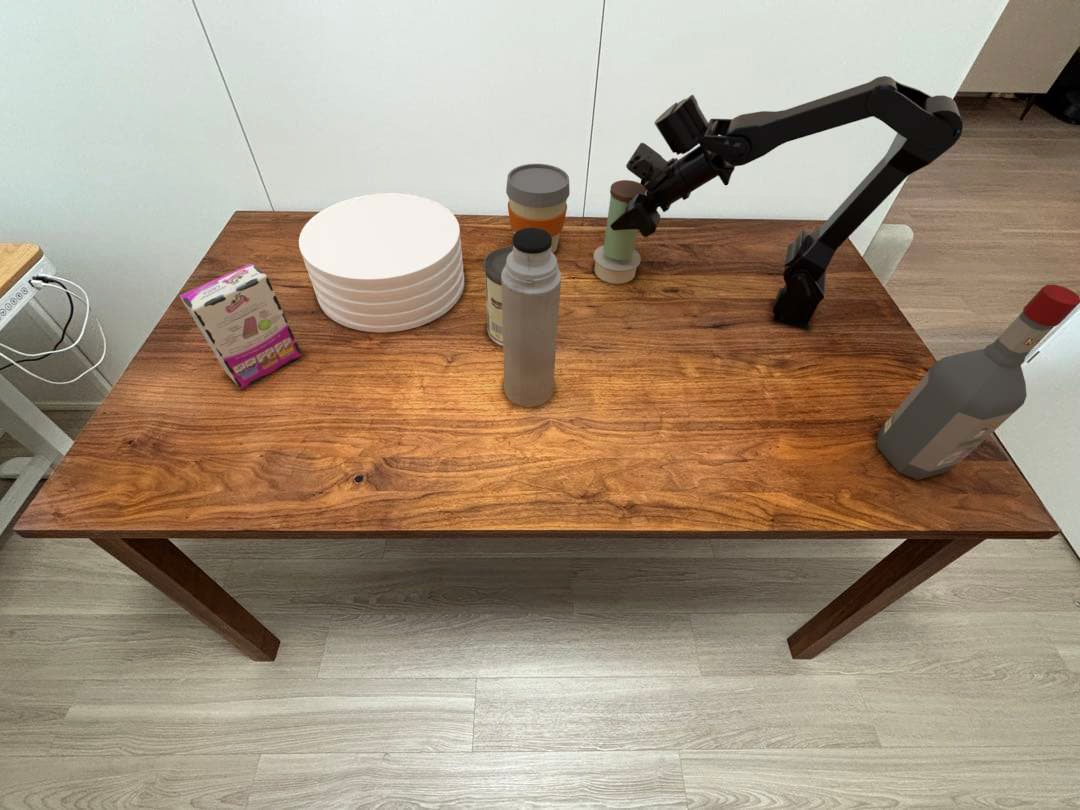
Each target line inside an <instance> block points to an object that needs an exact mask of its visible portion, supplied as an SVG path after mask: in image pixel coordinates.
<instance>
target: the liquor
mask: <svg viewBox="0 0 1080 810" xmlns="http://www.w3.org/2000/svg"><path fill="white" fill-rule="evenodd" d="M1079 305H1080V296H1079V295H1078V294H1077V293H1076V292H1075V291H1073V290H1072V289H1069V288H1068V287H1065V286H1062V285H1058V284H1046V285H1044V286H1042V287H1041V289H1040V290H1038V292H1037V293H1036V294H1035V295H1034V296H1033V297H1032V298H1031V299H1030V301H1028V303H1027V304H1026V305H1025V306H1024V307H1023V308H1022V312H1021V313H1020V314H1019V315H1018V316H1017V317H1016V318H1015V319H1014V320H1013V321H1012V323H1010V324H1009V326H1008V327H1007V328H1006V329H1005V330H1004V331H1003V332H1002V333H1001V334H1000V335H999V336H998V337H997V338H996V339H995V340H994V341H993V342H992V343H990V344H988V345H986V347H985V348H981V349H976V350H975V349H974V350H971V351H966V352H960V353H957V354H953V355H949V356H944V357H942V358H940V359H938V360H937V361H935V362H934V363H933V364H932V366H931V367H930V368H929V369H928V370H927V372H926V373H925V374H924V375H923V377H922V378H921V379H920V380H919V381H918V383H916V385H915V386H914V388H913V389H912V390H911V391H910V393H908V395H907V396H906V398H904V400H903V401H902V402H901V403H900V404H899V406H898V407H897V408H896V410H895V411H894V412H893V413H892V414H891V416H889V418H888V419H887V420H886V421H885V423H884V424H883V425H882V426H881V427H880V429H879V430H878V432H877V439H876V448H877V450H879V452H880V453H881V454H882V455H883V457H885V459H886V460H887V461H888V462H889V463H890V464H891V466H892V468H894V469H895V470H896V471H897V472H898V474H901V475H903V476H906V477H909V478H912V479H914V480H916V481H918V480H923V479H926V478H930V477H934V476H937V475H942V474H944V473H949V472H951V471H952V470H954V469H955V468H956V467H957V466H958V465H959V464H960V463H961V462H962V461H964V460H965V459H966V458H967V457H968V456H969V455H971V453H972V452H973V451H975V450H976V448H978V446H980V445H981V444H982V443H983V442H984V441H985V440H986V439H987V438H988V437H990V435H992V434H993V433H994V432H995V431H996V430H997V429H998V428H999V427H1000V426H1001V425H1003V423H1005V422H1006V421H1007V420H1008V419H1009V418H1010V417H1011V416H1013V415H1014V414H1015V413H1016V412H1017V411H1018V410H1019V409H1020V408H1021V407H1023V405H1024V404H1025V401H1026V399H1027V396H1028V395H1027V385H1026V379H1025V376H1024V371H1023V369H1022V364H1023V363H1025V360H1026V357H1027V356H1028V355H1029V354H1030V353H1031V352H1032V350H1033V349H1035V347H1037V345H1039V343H1040V342H1041V341H1042V340H1043V339H1044V338H1045V337H1046V336H1047V335H1048V334H1049V333H1050V332H1051V331H1052V330H1053V329H1054V328H1055V327H1057V326H1058V325H1060V324H1061V323H1062V322H1063V321H1065V319H1066V318H1067V317H1068V316H1069V315H1070V314H1071V313H1072V312H1073V311H1074V310H1075V309H1076V308H1077V307H1078V306H1079Z"/></svg>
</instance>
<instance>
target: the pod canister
mask: <svg viewBox="0 0 1080 810" xmlns="http://www.w3.org/2000/svg"><path fill="white" fill-rule="evenodd" d="M640 183H641V182H639V181H634V180H630V179H622V180H617V181H615V182H613V183H612V184H611V185H610V190H609V194H610V197H609V205H608V213H607V218H606V219H607V221H606V226H605V234H604V241H603V245H604V248H603V251H604V253H605V255H606V256H608V257H609V258H612V259H616V260H625V259H629V258H630V257H632V255H633V253H634V250H635V246H636V243H637V242H636V241H637V236H638V231H639V230H636V229H631V230H612V228H611V227H610V225H611V224H612V223H613V222H614V221H615V220H616V219H617V218H618V217H619V216H621V215H622V214H623V213H624V212H625V211H626V209H625V208H626V206H627V203H628V201H629V200H630V198H631V197H632V198H633V197H635V196H636V195H638V194H643V195H645V192H646V188H645V187H644V186H643V185H642V184H640Z"/></svg>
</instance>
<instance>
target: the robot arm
mask: <svg viewBox="0 0 1080 810" xmlns="http://www.w3.org/2000/svg"><path fill="white" fill-rule="evenodd" d="M873 117H874V119H875V118H876V119H877V120H879V121H881V122H883V123H884V124H885V125H886V126H888V127H889V128H890V129H892V130H893V131H894V132H895V133H896V135H895V137H894V139H893V140H892V143H891V144H890V146H889V148H888V150H887V152H886V153H885V155H884V156H883V158H882V159H880V161H879V162H878V163H877V164H876V165H875V166H874V168H872V169H871V171H870V172H869V173H868V174H867V175H866V176H865V177H864V178H863V180H862V181H861V182H860V183H859V184H858V185H857V186H856V188H854V189H853V191H852V192H851V193H850V194H849V195H848V196H847V197H846V198H845V199H844V200H843V201H842V202H841V204H840V205H839V206H838V207H837V208H836V209H835V210H834V212H833V213H832V214H831V215H830V216H829V217H828V218H827V220H826V221H825V222H824V223H823V224H822V225H821V226H820V227H819V228H818V229H817V230H815V231H813V232H810V233H808V232H806V230H801V231H800V233H799V234H798V236H797V237H796V239H795V240H794V241H793V242H792V243H790V244H788V245H787V249H786V254H785V261H784V268H783V274H782V275H783V276H782V278H783V281H784V282H785V284H784V286H783V287H780V288H779V289H778V291H777V294H776V296H775V298H774V300H773V301H772V307H771V312H772V314H773V317H772V321H773V322H774V323H777V324H781V325H786V326H790V327H791V326H792V327H796V328H800V329H805V330H809V329H810V327H811V320H812V317H813V316H814V313H815V311H816V310H817V308H818V306H819V305H820V303H821V302H822V301H823V300H824V299H825V295H826V294H825V291H826V279H827V269H828V267H829V265H830V263H831V261H832V259H833V257H834V256H835V254H836V252H837V250H838V249H839V248H840V247H841V245H843V244H844V243H845V242H846V240H847V239H848V238H850V237H851V235H853V233H854V232H855V231H856V230H857V229H858V228H859V227H860V226H861V225H862V224H863V223H864V222H865V221H866V220H867V219H868V218H869V217H870V215H872V213H874V212H875V211H876V209H878V208H879V207H880V205H881V204H882V203H884V201H885V200H886V199H887V198H888V197H889V196H890V195H891V194H892V193H893V192H894V191H895V190H896V189H897V188H898V187H899V186H900V185H901V184H902V183H903V182H904V181H905V180H906V178H908V177H909V176H910V175H912V174H914V173H916V172H918V171H920V170H921V169H924V168H926V167H927V166H929V165H931V164H932V163H933V162H935V161H936V160H937V159H939V157H942V155H944V154H945V153H946V152H947V151H949V150H950V149H951V148H953V146H955V145H956V143H957V142H958V141H959V140H960V138H961V136H962V134H963V128H964V127H963V124H964V122H963V120H962V117H961V114H960V111H959V108H958V105H957V103H956V101H955V100H954V99H953V98H952V97H951V96H948V95H934V96H932V95H930V94H928V93H926V92H924V91H922V90H920V89H918V88H915V87H912V86H909V85H907V84H903V83H900V82H898V81H897V80H895V79H894V78H892V77H891V76H887V75H883V76H878V77H876V78H874V79H872V80H871V81H869V82H866V83H863V84H859V85H856V86H854V87H850V88H847V89H844V90H841V91H838V92H835V93H832V94H830V95H827V96H823V97H820V98H817V99H814V100H811V101H809V102H805V103H802V104H799V105H796V106H793V107H790V108H787V109H783V110H782V109H781V110H778V111H777V110H776V111H774V110H773V111H772V110H771V111H770V110H760V111H755V112H748V113H744V114H743V113H742V114H739V115H737V116H736V117H733V118H710V119H709V120H707V118H706V116H705V114H704V113H703V111H702V110H701V108H700V106H699V103H698V100H697V98H696V97H695V95H694V94H691V95H689V96H688V97H687V98H683V99H682V100H680V101H678V102H677V101H676V102H675V103H673V104H672V105H671V106H669V107H668V108H667V109H666V110H665V111H664V112H663V113H661V114H660V115H659V116H658V117H657V118H656V119H655V121H654V123H653V124H654V125H655V127H656V129H657V130H658V133H660V135H661V136H662V138H663V140H664V141H665V142H666V144H667V146H668V147H669V149H670V151H671V152H672V153H673V154H674V153H675V154H676V155H677V156H678V155H683V156H682V157H680V158H678V157H672V158H671V159H669V160H666V159H665V158H664V157H663V156H662V155H661V154H660V153H658V151H656V150H654V149H653V148H652V147H651V146H649V145H648V144H646V143H644V142H640V143H639V144H638V146H637V147H636V149H635V151H634V152H633V153H632V155H631V156H630V158H629V160H628V161H627V163H626V164H625V167H626V169H627V170H628V171H629V172H630V173H632V174H633V175H634V176H636V177H637V178H639V179H640V182H639V183H640V184H642V185H643V186H644V187H645V188H646V192H645V195H643V194H638V195H636V196H635V197H633V198H632V197H631V198H630V200H629V201H628V203H627V206H626V208H625V209H626V211H625V212H624V213H623V214H622V215H621V216H619V217H618V218H617V219H616V220H615V221H614V222H613V223H612V224H611V225H610V227H611V228H612V230H631V229H636V230H638V231H639V233H640V234H641V235H642V237H644V238H647V237H649V236H651V235H653V234H655V233H656V230H657V228H658V226H659V224H660V221H661V214H660V213H659V212H658V208H660V209H661V210H662V213H665V212H667V211H669V210H670V207H671V205H672V204H674V203H676V202H678V201H679V200H681V199H682V200H683V201H685V200H687V199H689V198H690V196H691V194H692V192H694V191H696V190H697V189H699V188H700V187H702V186H704V185H705V184H707V183H709V182H710V181H712V180H713V179H715V178H718V177H719V179H720V180H721V182H722V184H723V185H724V186H728V185H729V183H730V181H731V178H732V175H733V172H734V171H735V168H736V167H739V166H740V167H741V166H744V165H747V164H749V163H751V162H753V161H755V160H757V159H759V158H762V157H764V156H765V155H768V154H769V153H770V152H772V151H773V150H775V149H776V148H778V147H780V146H781V145H784V144H786V143H788V142H792V141H795V140H798V139H802V138H806V137H809V136H812V135H815V134H818V133H822V132H825V131H829V130H832V129H835V128H838V127H843V126H845V125H848V124H851V123H855V122H860V121H861V120H866V119H868V118H873Z"/></svg>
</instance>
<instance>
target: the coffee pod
mask: <svg viewBox="0 0 1080 810" xmlns="http://www.w3.org/2000/svg"><path fill="white" fill-rule="evenodd" d="M603 248H604V244H603V245H600V246H598V247H597V248H596V249H595V250H594V252H593V260H594V270H593V271H594V274H595V275H596V276H597V277H598V278H599V280H602V281H603V282H606V283H610V284H617V285H618V284H619V285H621V284H626V283H629V282H631V281H632V280H633V279H634V278H635V276H636V273H637V268H638V266H640V263H641V254H640V253H639V252H638V251H637V250H636V249H634V253H633V255H632V257H630V258H629V259H625V260H616V259H612V258H609V257H608V256H606V255H605V253H604V251H603Z"/></svg>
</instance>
